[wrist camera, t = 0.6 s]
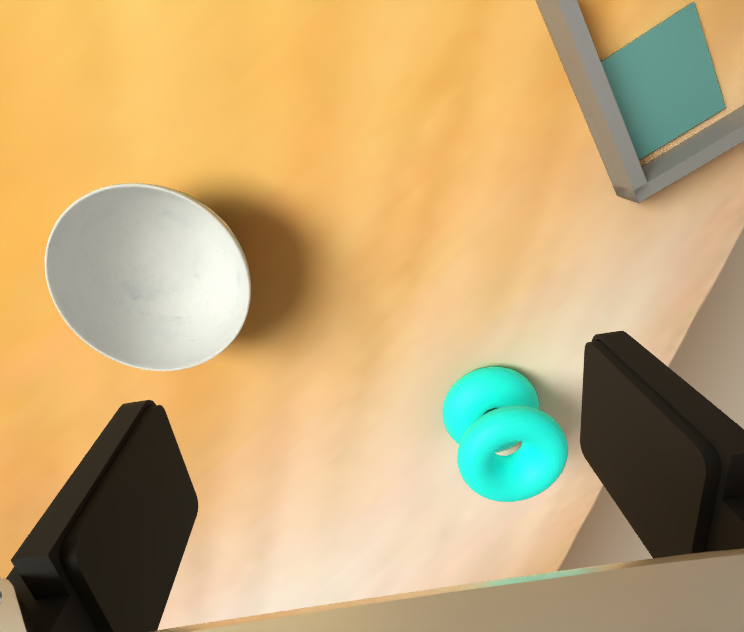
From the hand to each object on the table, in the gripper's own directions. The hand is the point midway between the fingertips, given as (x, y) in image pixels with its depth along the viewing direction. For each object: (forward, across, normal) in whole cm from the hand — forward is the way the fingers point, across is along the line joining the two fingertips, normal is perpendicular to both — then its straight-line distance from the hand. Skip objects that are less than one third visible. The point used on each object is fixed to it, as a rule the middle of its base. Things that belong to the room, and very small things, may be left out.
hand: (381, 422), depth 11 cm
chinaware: (+35, +16, +4) cm, 39 cm away
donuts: (+35, -11, +25) cm, 44 cm away
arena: (+35, -26, -6) cm, 44 cm away
